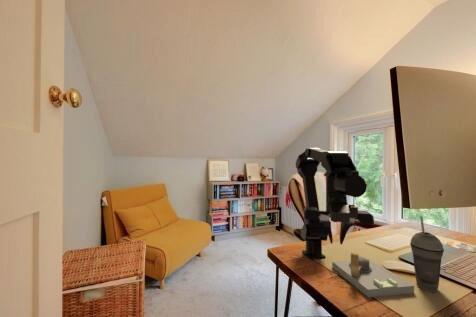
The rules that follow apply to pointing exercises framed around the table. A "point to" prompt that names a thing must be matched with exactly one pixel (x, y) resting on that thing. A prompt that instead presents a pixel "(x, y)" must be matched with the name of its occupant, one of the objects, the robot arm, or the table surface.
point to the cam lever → (358, 264)
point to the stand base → (374, 280)
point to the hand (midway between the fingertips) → (336, 243)
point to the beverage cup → (427, 259)
